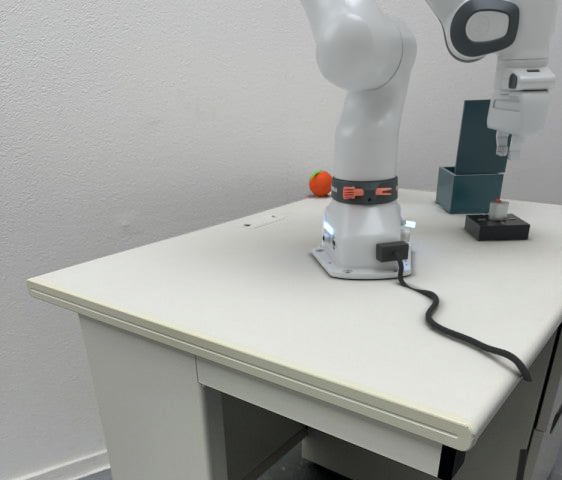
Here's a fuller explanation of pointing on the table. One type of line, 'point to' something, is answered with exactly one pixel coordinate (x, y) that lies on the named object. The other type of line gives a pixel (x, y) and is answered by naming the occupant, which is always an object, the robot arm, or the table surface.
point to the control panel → (496, 228)
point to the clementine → (320, 183)
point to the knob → (498, 210)
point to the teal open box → (467, 190)
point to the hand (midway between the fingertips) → (506, 157)
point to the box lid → (478, 141)
